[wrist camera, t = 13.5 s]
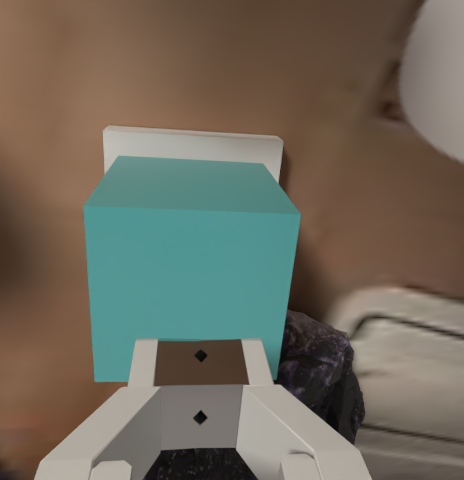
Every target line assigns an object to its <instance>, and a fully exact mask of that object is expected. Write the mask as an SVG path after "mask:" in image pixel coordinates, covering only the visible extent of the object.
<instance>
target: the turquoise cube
mask: <svg viewBox="0 0 464 480" xmlns="http://www.w3.org/2000/svg"><path fill="white" fill-rule="evenodd" d="M300 219H301V214H300V212H299V211H298V210H297V208H296V207H295V206H294V204H293V203H292V202H291V200H290V199H289V197H288V196H287V195H286V193H285V192H284V191H283V189H282V188H281V187H280V185H279V184H278V183H277V181H276V180H275V179H274V177H273V176H272V175H271V173H270V172H269V171H268V169H267V168H266V167H265V165H264V164H263V163H249V162H230V161H212V160H193V159H175V158H156V157H138V156H119V155H118V156H117V158H116V159H115V161H114V162H113V164H112V165H111V167H110V168H109V170H108V171H107V172H106V174H105V175H104V177H103V178H102V180H101V181H100V183H99V184H98V186H97V187H96V188H95V190H94V191H93V193H92V194H91V196H90V197H89V199H88V200H87V202H86V203H85V205H84V221H85V237H86V252H87V268H88V283H89V299H90V314H91V330H92V346H93V361H94V377H95V382H129V376H130V370H131V364H132V358H133V352H134V346H135V341H136V339H137V338H157V339H158V340H159V338H173V339H240V338H260V339H261V340H262V342H263V345H264V349H265V353H266V356H267V360H268V364H269V367H270V371H271V374H272V378H273V380H276V379H277V372H278V365H279V359H280V352H281V345H282V339H283V332H284V325H285V319H286V312H287V305H288V299H289V292H290V285H291V279H292V272H293V265H294V259H295V252H296V245H297V239H298V232H299V225H300Z"/></svg>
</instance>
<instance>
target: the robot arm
mask: <svg viewBox="0 0 464 480" xmlns="http://www.w3.org/2000/svg"><path fill="white" fill-rule="evenodd" d="M189 448H236V450H237V452H238V453H239V454H240V456H241V457H242V458H243V460H244V461H245V462H246V464H247V465H248V466H249V468H250V469H251V470H252V472H253V473H254V475H255V476H256V477H257V479H258V480H372V478H371V476H370V474H369V472H368V469H367V467H366V465H365V462H364V460H363V458H362V455H361V453H360V451H359V450H358V449H357V448H356V447H354V446H353V445H352V444H351V443H350V442H348V441H347V440H346V439H345V438H344V437H342V436H341V435H340V434H339V433H338V432H336V431H335V430H334V429H333V428H332V427H330V426H329V425H328V424H327V423H326V422H324V421H323V420H322V419H321V418H320V417H318V416H317V415H316V414H315V413H314V412H312V411H311V410H310V409H309V408H308V407H306V406H305V405H304V404H303V403H302V402H300V401H299V400H298V399H297V398H296V397H294V396H293V395H292V394H291V393H290V392H288V391H287V390H286V389H285V388H284V387H282V386H281V385H274V382H273V378H272V374H271V371H270V367H269V364H268V360H267V356H266V353H265V349H264V345H263V342H262V340H261V339H260V338H240V339H173V338H159V340H158V339H157V338H137V339H136V341H135V346H134V352H133V358H132V364H131V370H130V376H129V382H128V387H121V388H120V389H119V390H118V391H116V392H115V393H114V394H113V395H112V396H111V397H110V398H109V399H108V400H107V401H106V402H105V403H103V404H102V405H101V406H100V407H99V408H98V409H97V410H96V411H95V412H94V413H93V414H91V415H90V416H89V417H88V418H87V419H86V420H85V421H84V422H83V423H82V424H81V425H80V426H78V427H77V428H76V429H75V430H74V431H73V432H72V433H71V434H70V435H69V436H68V437H67V438H65V439H64V440H63V441H62V442H61V443H60V444H59V445H58V446H57V447H56V448H55V449H53V450H52V451H51V452H50V453H49V454H48V455H47V456H46V457H45V458H44V459H43V460H42V461H40V464H39V467H38V470H37V473H36V476H35V478H34V480H142V479H143V478H144V476H145V475H146V474H147V472H148V471H149V469H150V468H151V466H152V465H153V463H154V462H155V460H156V459H157V457H158V456H159V454H160V450H173V449H189Z"/></svg>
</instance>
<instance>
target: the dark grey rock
mask: <svg viewBox="0 0 464 480" xmlns="http://www.w3.org/2000/svg"><path fill="white" fill-rule="evenodd" d="M353 352H354V351H353V349H352V347H351V346H350V344H349V341H348V337H347V333H346V332H342V331H338V330H336V329H334V328H333V327H332V326H330V325H327V324H323V323H321V322H318V321H316V320H314V319H312V318H310V317H309V316H307V315H306V314H304V313H301V312H294V311H291V310H289V309H287V312H286V319H285V325H284V332H283V339H282V345H281V352H280V359H279V365H278V372H277V379H276V380H273V382H274V385H281V386H282V387H284V388H285V389H286V390H287V391H288V392H290V393H291V394H292V395H293V396H294V397H296V398H297V399H298V400H299V401H300V402H302V403H303V404H304V405H305V406H306V407H308V408H309V409H310V410H311V411H312V412H314V413H315V414H316V415H317V416H318V417H320V418H321V419H322V420H323V421H324V422H326V423H327V424H328V425H329V426H330V427H332V428H333V429H334V430H335V431H336V432H338V433H339V434H340V435H341V436H342V437H344V438H345V439H346V440H347V441H348V442H350V443H351V444H352V445H354V441H355V436H356V432H357V430H358V428H359V427H360V424H361V422H362V421H363V419H364V416H365V409H364V402H363V398H362V396H363V393H362V392H361V391H360V387H359V384H358V381H357V378H356V376H355V374H354V373H353V372H352V370H351V369H352V364H351V363H352V360H353ZM142 480H258V479H257V477H256V476H255V475H254V473H253V472H252V470H251V469H250V468H249V466H248V465H247V464H246V462H245V461H244V460H243V458H242V457H241V456H240V454H239V453H238V452H237V450H236V448H189V449H173V450H160V454H159V456H158V457H157V459H156V460H155V462H154V463H153V465H152V466H151V468H150V469H149V471H148V472H147V474H146V475H145V476H144V478H143V479H142Z"/></svg>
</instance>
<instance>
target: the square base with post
mask: <svg viewBox="0 0 464 480" xmlns="http://www.w3.org/2000/svg"><path fill="white" fill-rule="evenodd" d="M283 142H284V141H283V140H281V139H280V138H279V137H278V136H271V135H255V134H239V133H223V132H207V131H192V130H176V129H160V128H144V127H128V126H112V125H108V126H107V127H106V128H105V129H104V130H103V145H104V169H105V174H106V172H107V171H108V170H109V168H110V167H111V165H112V164H113V162H114V161H115V159H116V158H117V156H118V155H119V156H138V157H156V158H175V159H193V160H212V161H230V162H249V163H263V164H264V165H265V167H266V168H267V169H268V171H269V172H270V173H271V175H272V176H273V177H274V179H275V180H276V181H277V183H279V175H280V167H281V158H282V150H283Z"/></svg>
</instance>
